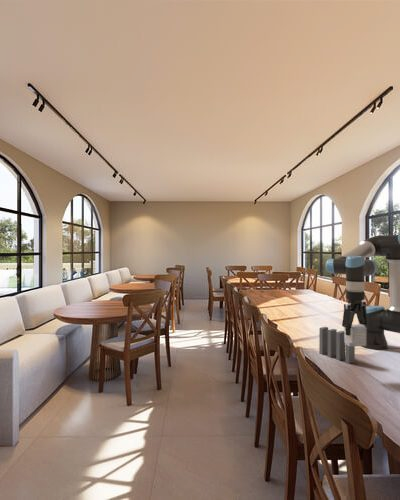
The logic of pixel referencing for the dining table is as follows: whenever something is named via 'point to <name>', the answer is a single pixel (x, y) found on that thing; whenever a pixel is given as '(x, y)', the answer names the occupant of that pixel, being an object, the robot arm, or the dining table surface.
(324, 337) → the domino
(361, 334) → the medicine box
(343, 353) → the domino
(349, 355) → the domino
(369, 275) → the robot arm
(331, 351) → the domino
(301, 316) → the dining table surface
